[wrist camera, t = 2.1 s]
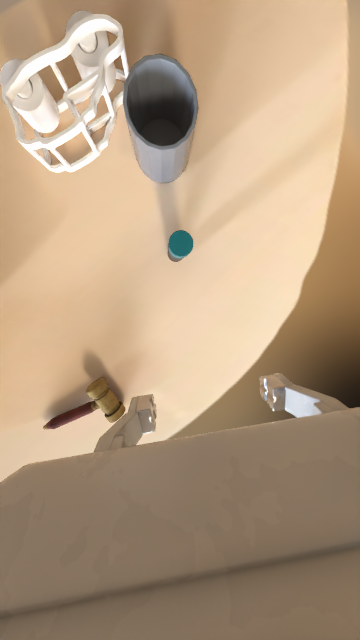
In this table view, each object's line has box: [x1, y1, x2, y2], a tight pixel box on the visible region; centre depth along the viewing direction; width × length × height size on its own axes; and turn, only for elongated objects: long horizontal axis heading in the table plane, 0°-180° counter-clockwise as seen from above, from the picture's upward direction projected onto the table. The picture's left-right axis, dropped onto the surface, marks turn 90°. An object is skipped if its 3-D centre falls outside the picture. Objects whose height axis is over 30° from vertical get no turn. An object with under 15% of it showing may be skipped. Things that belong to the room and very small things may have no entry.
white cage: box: [0, 11, 129, 173], centre depth 27 cm, size 20×11×7 cm, turn 120°
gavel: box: [43, 378, 125, 429], centre depth 43 cm, size 21×5×10 cm
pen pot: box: [123, 54, 198, 183], centre depth 28 cm, size 10×10×10 cm
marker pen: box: [168, 230, 193, 262], centre depth 31 cm, size 4×4×12 cm
